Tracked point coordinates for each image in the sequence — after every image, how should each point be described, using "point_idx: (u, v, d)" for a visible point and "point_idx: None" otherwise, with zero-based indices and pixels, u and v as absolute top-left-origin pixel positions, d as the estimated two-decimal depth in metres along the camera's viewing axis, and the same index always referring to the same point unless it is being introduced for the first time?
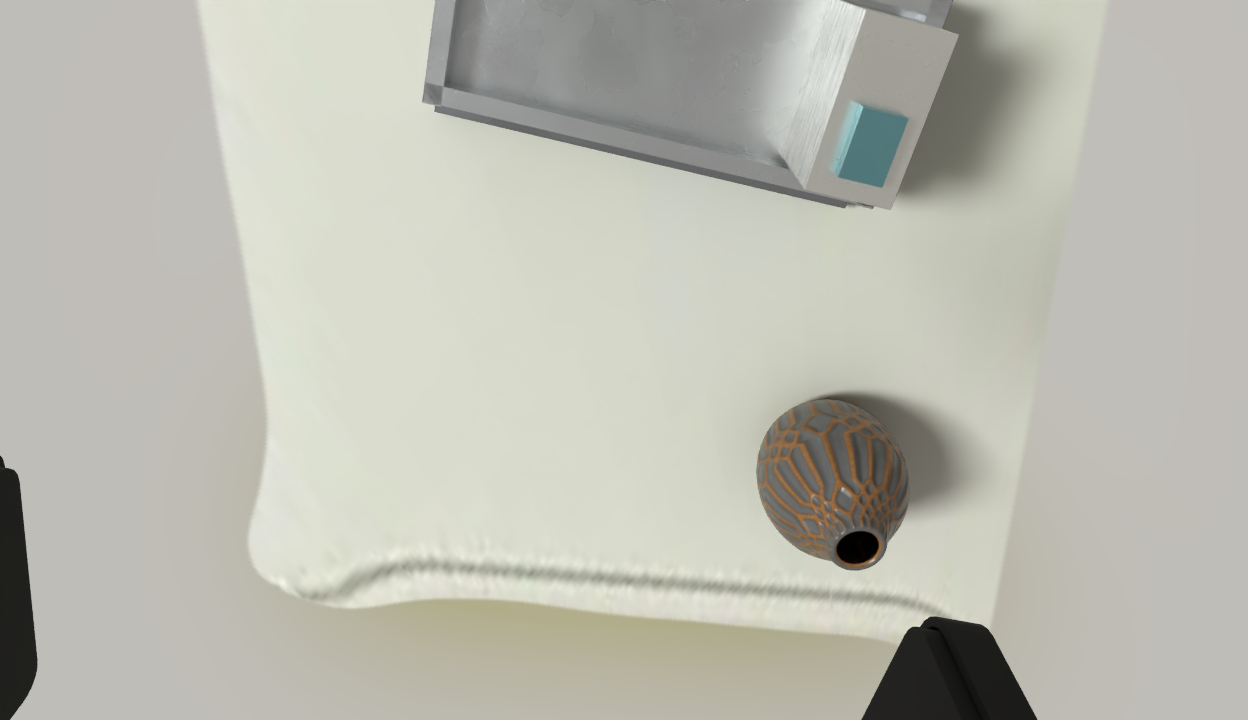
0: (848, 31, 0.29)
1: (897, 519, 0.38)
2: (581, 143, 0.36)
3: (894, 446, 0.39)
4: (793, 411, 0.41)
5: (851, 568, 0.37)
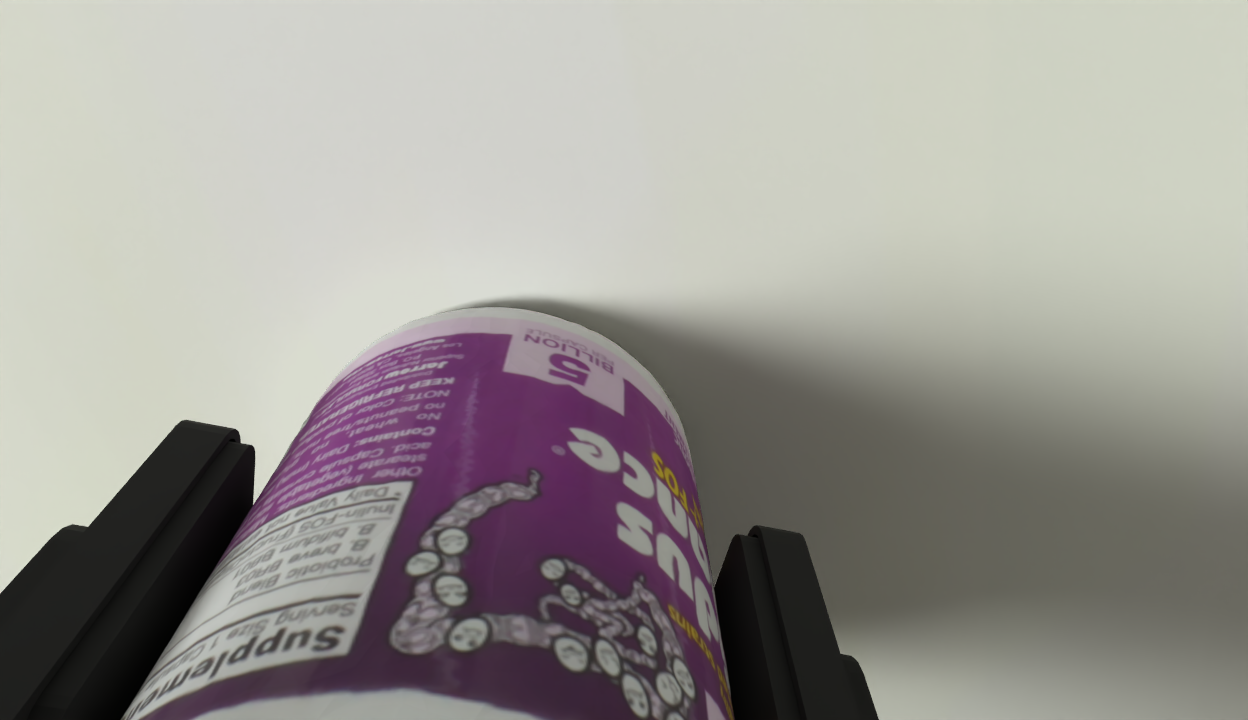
0: None
1: None
2: None
3: None
4: None
5: None
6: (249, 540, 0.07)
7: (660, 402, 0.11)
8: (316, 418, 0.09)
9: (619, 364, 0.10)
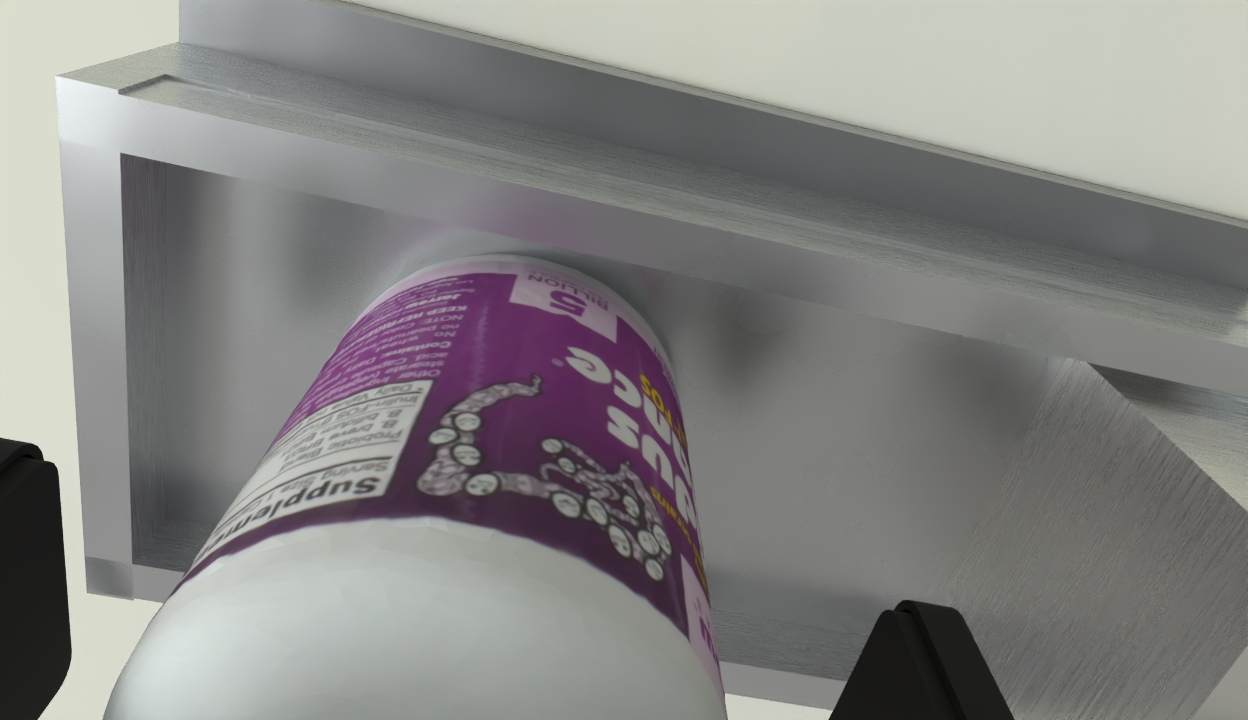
0: (1194, 549, 0.10)
1: None
2: None
3: None
4: None
5: None
6: (292, 431, 0.09)
7: (650, 339, 0.12)
8: (344, 345, 0.11)
9: (613, 303, 0.12)
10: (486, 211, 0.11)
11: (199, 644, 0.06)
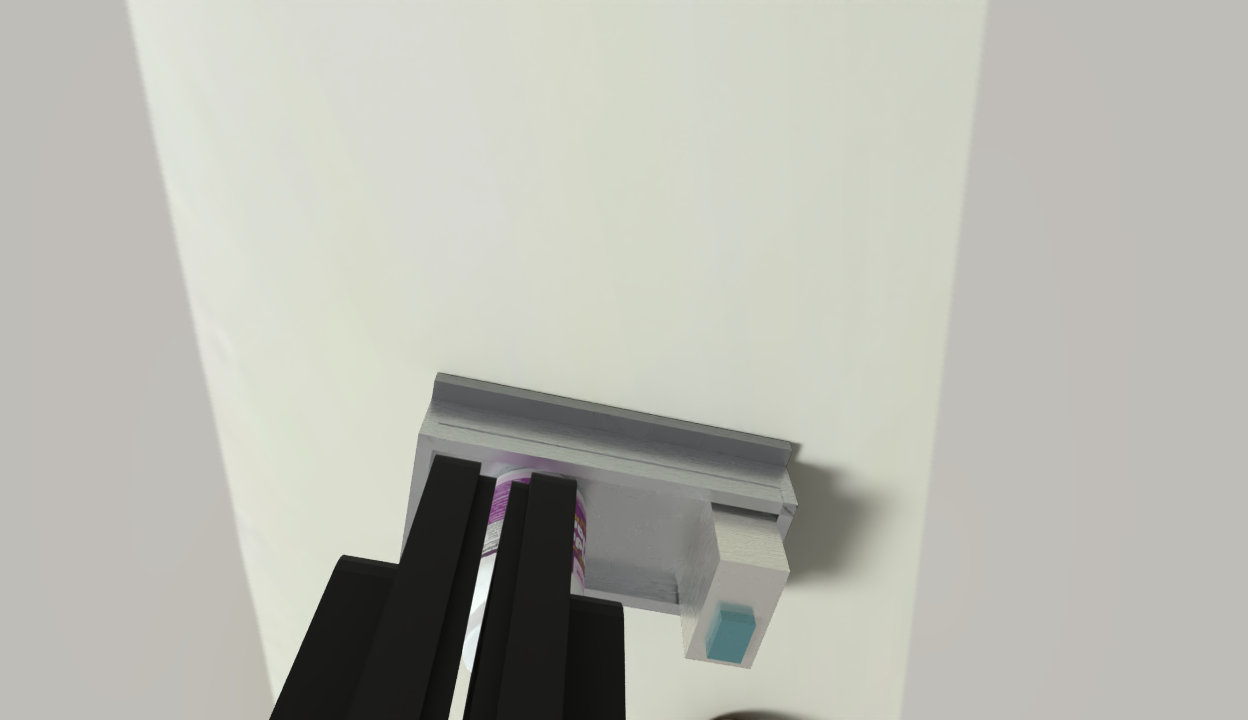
0: (712, 555, 0.39)
1: None
2: None
3: None
4: None
5: None
6: None
7: None
8: None
9: None
10: (528, 462, 0.40)
11: (484, 572, 0.35)
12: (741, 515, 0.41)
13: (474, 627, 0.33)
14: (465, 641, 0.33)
